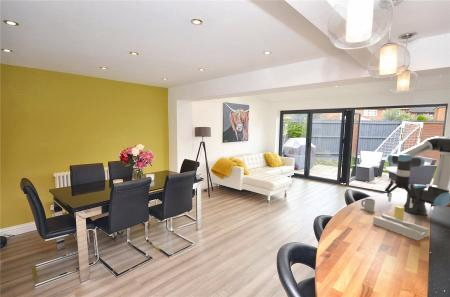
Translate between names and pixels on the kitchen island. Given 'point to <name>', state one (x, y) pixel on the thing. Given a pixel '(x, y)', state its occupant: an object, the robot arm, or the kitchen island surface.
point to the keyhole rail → (401, 227)
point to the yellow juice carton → (399, 212)
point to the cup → (368, 204)
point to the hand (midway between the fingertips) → (399, 204)
